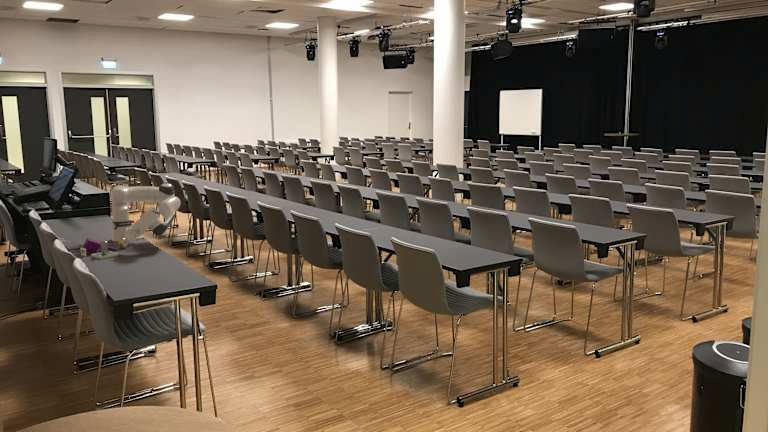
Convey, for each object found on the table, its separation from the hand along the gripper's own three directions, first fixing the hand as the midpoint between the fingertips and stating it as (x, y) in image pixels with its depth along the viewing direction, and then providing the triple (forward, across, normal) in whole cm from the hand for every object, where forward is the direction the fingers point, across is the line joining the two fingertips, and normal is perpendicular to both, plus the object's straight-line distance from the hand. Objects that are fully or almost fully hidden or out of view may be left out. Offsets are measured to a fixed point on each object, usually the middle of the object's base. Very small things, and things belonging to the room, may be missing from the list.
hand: (123, 244), depth 412 cm
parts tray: (+13, 0, +4) cm, 14 cm away
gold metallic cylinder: (+5, +21, -4) cm, 22 cm away
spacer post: (+13, 0, +4) cm, 13 cm away
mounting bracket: (+15, +15, +5) cm, 22 cm away
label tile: (+22, +7, +12) cm, 26 cm away
